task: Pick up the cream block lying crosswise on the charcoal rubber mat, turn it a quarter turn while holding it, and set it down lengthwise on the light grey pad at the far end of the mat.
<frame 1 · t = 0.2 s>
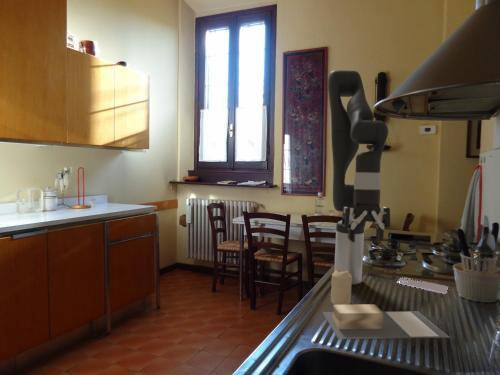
hand: (365, 241, 105), 17 cm above the counter, tool pointing down, fingers open, 8 cm apart
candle: (340, 304, 102), on the counter
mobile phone: (422, 287, 118), on the counter
cream block: (356, 324, 88), resting on mat
mat: (381, 325, 89), on the counter
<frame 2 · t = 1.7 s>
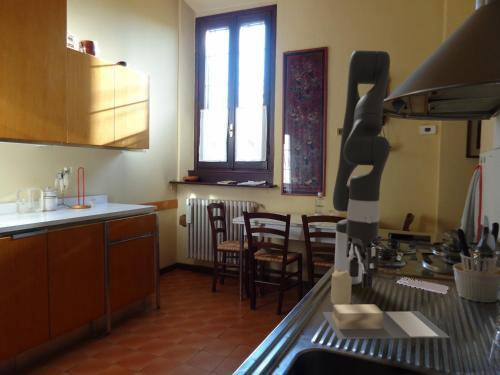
hand: (359, 282, 87), 11 cm above the counter, tool pointing down, fingers open, 8 cm apart
nothing on the counter moved.
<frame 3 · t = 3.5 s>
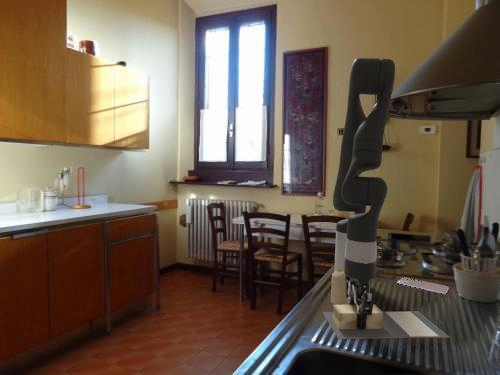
hand: (356, 322, 88), 1 cm above the counter, tool pointing down, fingers closed on cream block, 5 cm apart
cream block: (356, 324, 88), point 1 cm above the counter, touching gripper, mat
everything else where it was.
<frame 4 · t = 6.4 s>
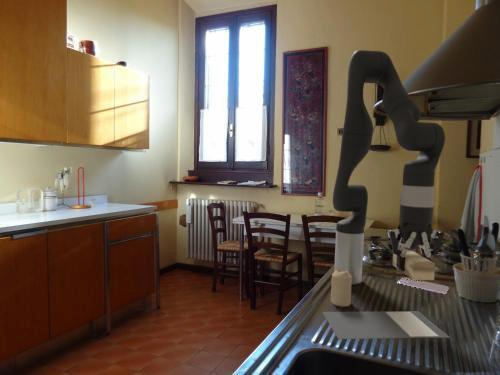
hand: (412, 270, 88), 14 cm above the counter, tool pointing down, fingers closed on cream block, 5 cm apart
cream block: (412, 272, 88), point 14 cm above the counter, touching gripper
everything else where it was.
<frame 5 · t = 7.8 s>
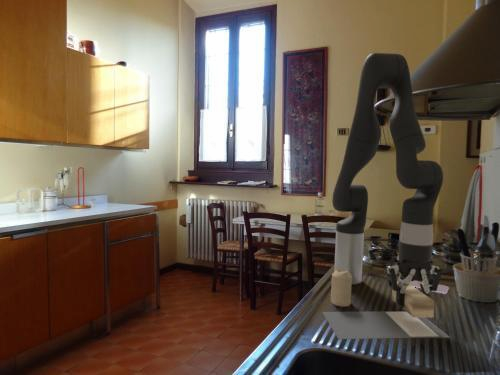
hand: (411, 306, 89), 5 cm above the counter, tool pointing down, fingers closed on cream block, 5 cm apart
cream block: (411, 307, 89), point 5 cm above the counter, touching gripper
everything else where it was.
when the fingers open (2 cm above the counter, at t = 9.2 s): cream block drops 1 cm, resting on mat.
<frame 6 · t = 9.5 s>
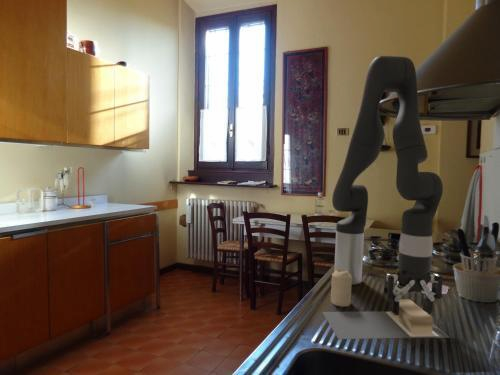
hand: (411, 314, 89), 3 cm above the counter, tool pointing down, fingers open, 8 cm apart
cream block: (410, 323, 89), point 1 cm above the counter, touching mat
everything else where it was.
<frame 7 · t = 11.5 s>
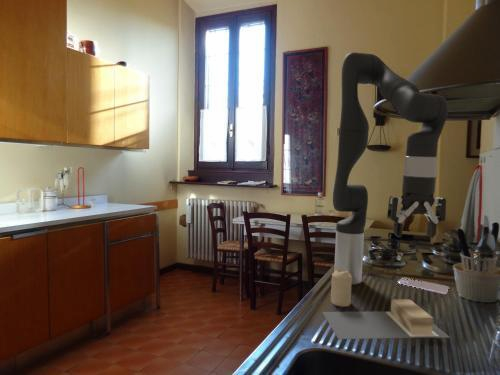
hand: (414, 236, 91), 22 cm above the counter, tool pointing down, fingers open, 8 cm apart
nothing on the counter moved.
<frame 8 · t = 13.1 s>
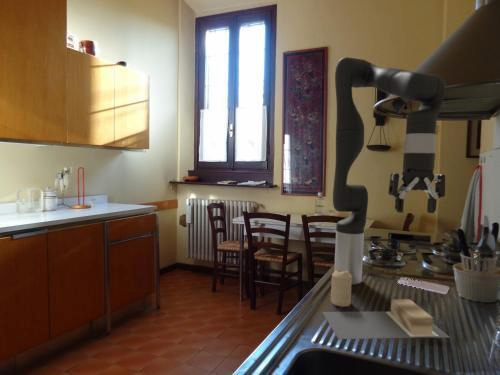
hand: (415, 212, 93), 28 cm above the counter, tool pointing down, fingers open, 8 cm apart
nothing on the counter moved.
at the end: cream block 0.1 cm from the target spot, point 0.6 cm above the counter; cream block tilted 0°; the gripper is holding nothing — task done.
